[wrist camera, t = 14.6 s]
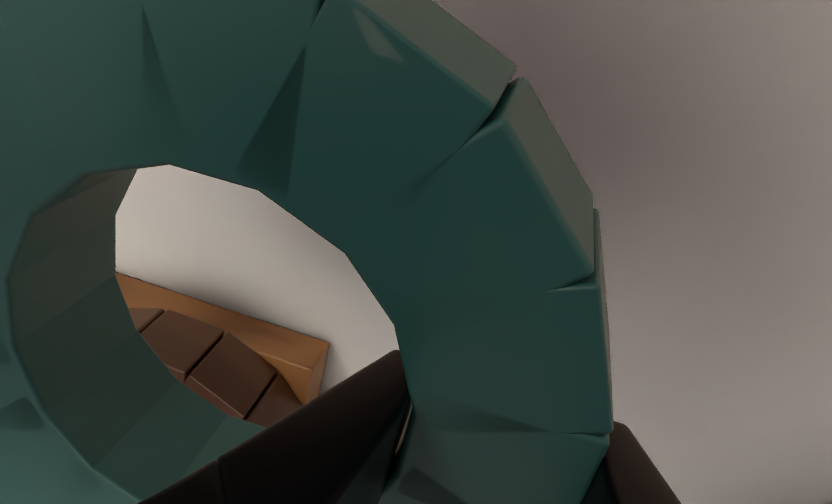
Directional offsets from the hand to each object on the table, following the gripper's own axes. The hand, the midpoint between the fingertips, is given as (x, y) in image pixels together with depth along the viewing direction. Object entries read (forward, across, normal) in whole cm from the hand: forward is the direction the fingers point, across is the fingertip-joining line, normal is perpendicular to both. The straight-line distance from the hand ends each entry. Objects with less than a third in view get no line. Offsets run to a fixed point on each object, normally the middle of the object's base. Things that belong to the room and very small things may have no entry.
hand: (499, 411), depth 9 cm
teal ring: (+1, +4, 0) cm, 4 cm away
